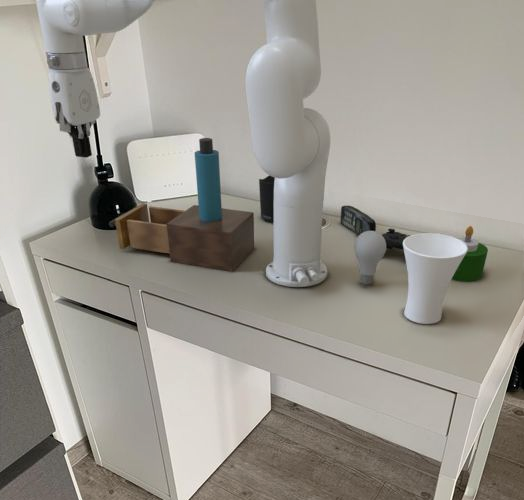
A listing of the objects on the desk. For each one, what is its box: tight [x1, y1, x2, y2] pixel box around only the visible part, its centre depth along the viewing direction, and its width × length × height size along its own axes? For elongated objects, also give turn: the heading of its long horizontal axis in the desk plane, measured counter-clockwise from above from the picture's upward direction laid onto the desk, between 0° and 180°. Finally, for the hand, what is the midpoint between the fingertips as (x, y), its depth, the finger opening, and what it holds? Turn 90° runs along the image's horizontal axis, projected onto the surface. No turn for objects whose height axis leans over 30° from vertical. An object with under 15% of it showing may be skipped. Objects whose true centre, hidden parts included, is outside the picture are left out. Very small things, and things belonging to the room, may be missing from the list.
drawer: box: [108, 202, 185, 255], centre depth 124 cm, size 17×11×7 cm, turn 69°
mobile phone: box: [340, 205, 377, 237], centre depth 130 cm, size 5×3×15 cm
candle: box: [451, 225, 489, 282], centre depth 110 cm, size 8×8×10 cm
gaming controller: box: [381, 228, 412, 251], centre depth 118 cm, size 14×6×10 cm
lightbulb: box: [353, 231, 387, 286], centre depth 106 cm, size 6×6×11 cm
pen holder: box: [258, 175, 275, 224], centre depth 138 cm, size 9×9×10 cm
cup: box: [403, 232, 468, 325], centre depth 95 cm, size 10×10×14 cm
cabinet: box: [167, 204, 255, 272], centre depth 119 cm, size 15×13×9 cm
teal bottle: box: [194, 137, 223, 222], centre depth 112 cm, size 5×5×16 cm
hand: (83, 155), depth 120 cm, fingers closed
